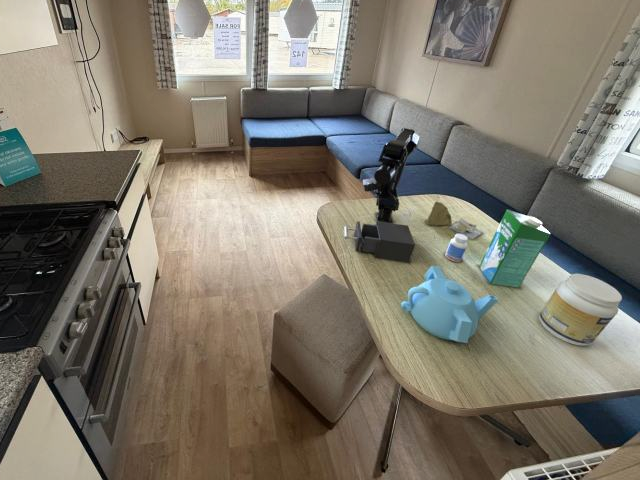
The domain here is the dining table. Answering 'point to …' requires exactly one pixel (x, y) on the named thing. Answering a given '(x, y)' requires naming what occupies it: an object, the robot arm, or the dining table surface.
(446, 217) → the rock
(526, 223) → the milk carton
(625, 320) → the dining table surface
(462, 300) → the teapot
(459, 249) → the pill bottle
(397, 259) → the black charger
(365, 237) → the drawer
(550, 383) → the dining table surface
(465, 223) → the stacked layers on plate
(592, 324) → the supplement tub
